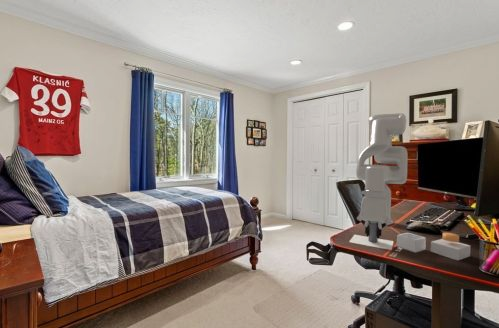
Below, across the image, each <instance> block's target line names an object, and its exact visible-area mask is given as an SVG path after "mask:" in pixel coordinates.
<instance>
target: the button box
mask: <svg viewBox="0 0 499 328" xmlns="http://www.w3.org/2000/svg"><path fill="white" fill-rule="evenodd" d="M471 246H472V245H469V244H467V243H462V242H460V241H459V242H450V241H446V240H444V239H442V238H440V239H437V240H431V241H430V253H431V252H432V253H434V254H437V255H439V256H443V257H445V258H448V259H451V260H455V261H460V260H463V259H466V258H468V257H471Z"/></svg>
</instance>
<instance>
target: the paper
mask: <svg viewBox="0 0 499 328" xmlns="http://www.w3.org/2000/svg"><path fill="white" fill-rule="evenodd" d="M368 237H369V236H367V235H366V236H365V235H359V234H353V236H352V237H351V238H350V240H349V241H348V242H349V243H352V244H357V245H363V246H367V247H374V248H378V249H383V250H390V251H392V250H393V245H394V241H393V240H389V239H381V238H378V242H377V243H372V242H369V241H368Z"/></svg>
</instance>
